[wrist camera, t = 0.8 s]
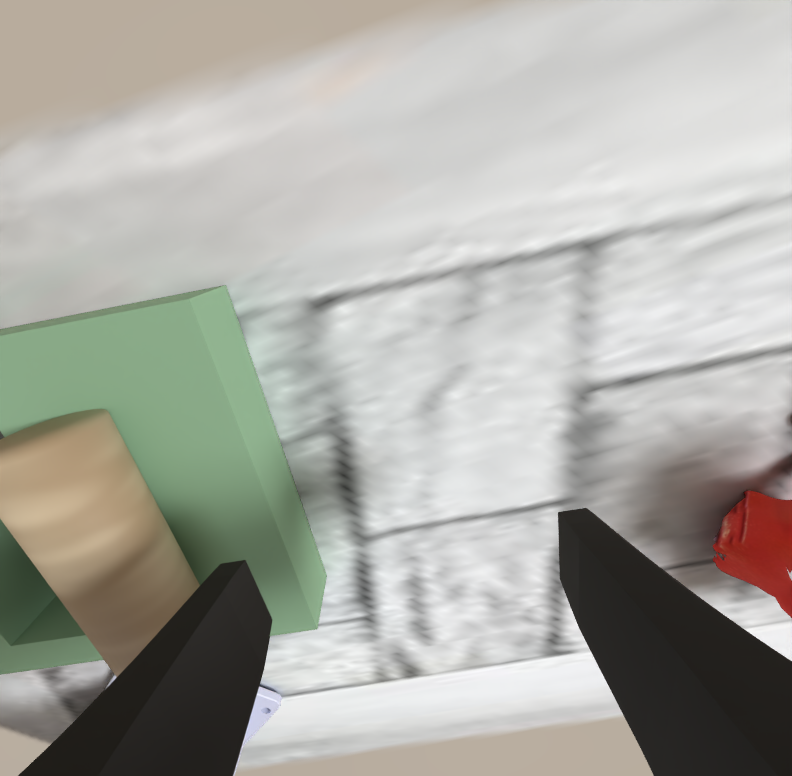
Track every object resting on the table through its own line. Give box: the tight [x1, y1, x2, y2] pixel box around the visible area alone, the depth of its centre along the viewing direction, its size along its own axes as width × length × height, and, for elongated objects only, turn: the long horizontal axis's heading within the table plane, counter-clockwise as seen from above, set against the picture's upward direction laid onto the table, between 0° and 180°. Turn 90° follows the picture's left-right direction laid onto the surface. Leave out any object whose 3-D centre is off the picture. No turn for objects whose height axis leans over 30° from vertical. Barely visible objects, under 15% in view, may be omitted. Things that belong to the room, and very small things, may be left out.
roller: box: [0, 409, 200, 677], centre depth 12 cm, size 8×3×3 cm, turn 11°
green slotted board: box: [0, 285, 327, 675], centre depth 14 cm, size 14×13×2 cm
